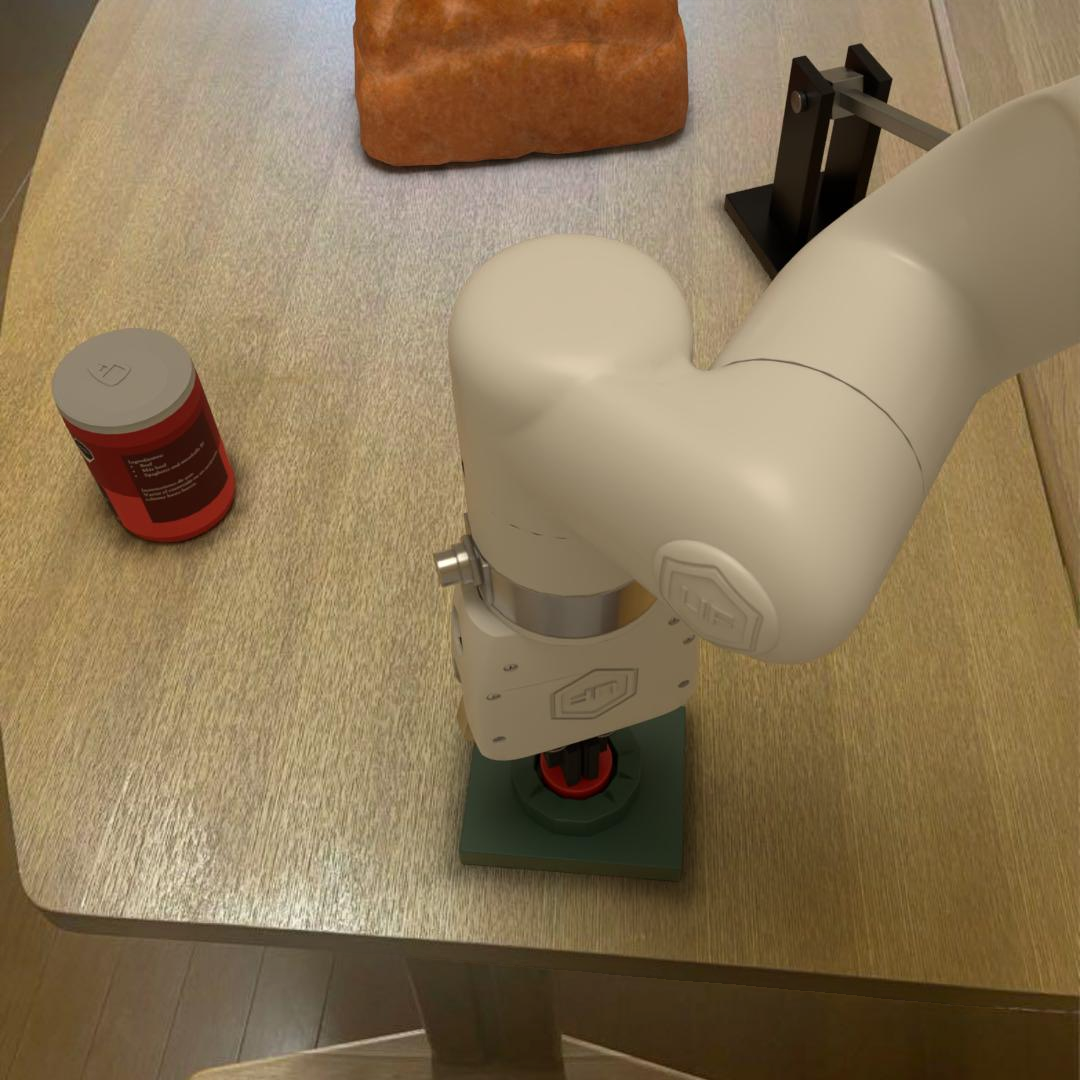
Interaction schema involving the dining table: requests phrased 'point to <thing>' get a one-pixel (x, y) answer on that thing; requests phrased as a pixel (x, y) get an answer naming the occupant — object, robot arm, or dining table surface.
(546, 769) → the button
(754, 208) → the bracket
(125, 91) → the dining table surface
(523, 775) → the button box
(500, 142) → the bread
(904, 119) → the lever
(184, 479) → the canned food
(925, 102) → the dining table surface
